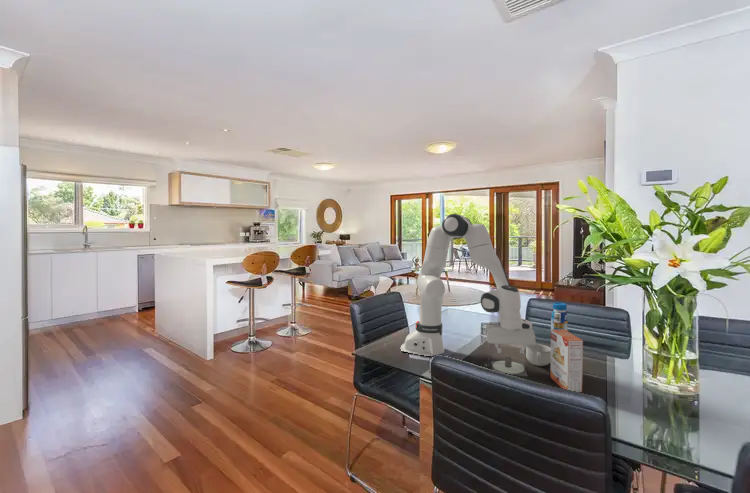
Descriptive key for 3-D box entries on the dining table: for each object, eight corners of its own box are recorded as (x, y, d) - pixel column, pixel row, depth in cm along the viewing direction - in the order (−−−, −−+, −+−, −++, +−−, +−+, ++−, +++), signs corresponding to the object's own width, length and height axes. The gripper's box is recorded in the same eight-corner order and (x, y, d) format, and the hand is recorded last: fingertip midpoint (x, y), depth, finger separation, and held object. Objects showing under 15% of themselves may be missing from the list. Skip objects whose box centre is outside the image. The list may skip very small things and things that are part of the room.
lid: (493, 372, 151) (493, 360, 151) (491, 361, 164) (492, 350, 163) (526, 375, 148) (526, 363, 148) (521, 363, 160) (522, 352, 160)
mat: (492, 373, 151) (492, 372, 151) (490, 361, 164) (490, 360, 164) (527, 377, 147) (527, 376, 147) (523, 364, 161) (523, 363, 161)
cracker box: (549, 378, 146) (550, 328, 145) (563, 378, 146) (564, 328, 145) (566, 394, 132) (567, 339, 131) (582, 394, 132) (584, 339, 131)
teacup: (528, 357, 169) (529, 341, 168) (553, 362, 162) (554, 345, 162) (521, 367, 157) (522, 349, 157) (548, 373, 151) (548, 354, 151)
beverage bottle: (547, 337, 198) (547, 302, 197) (561, 336, 199) (562, 301, 198) (556, 342, 190) (557, 305, 189) (571, 341, 191) (572, 305, 190)
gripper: (485, 324, 155) (486, 354, 155) (536, 325, 150) (536, 357, 150) (485, 320, 161) (485, 349, 161) (533, 321, 156) (533, 351, 157)
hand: (510, 353), depth 156 cm, fingers open, 8 cm apart
